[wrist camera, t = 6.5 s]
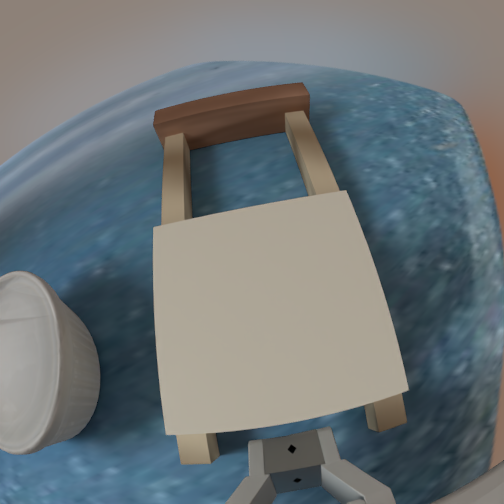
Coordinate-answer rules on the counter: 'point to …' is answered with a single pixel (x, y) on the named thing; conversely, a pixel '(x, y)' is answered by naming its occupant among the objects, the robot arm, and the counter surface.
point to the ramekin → (42, 366)
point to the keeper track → (230, 129)
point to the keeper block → (270, 317)
